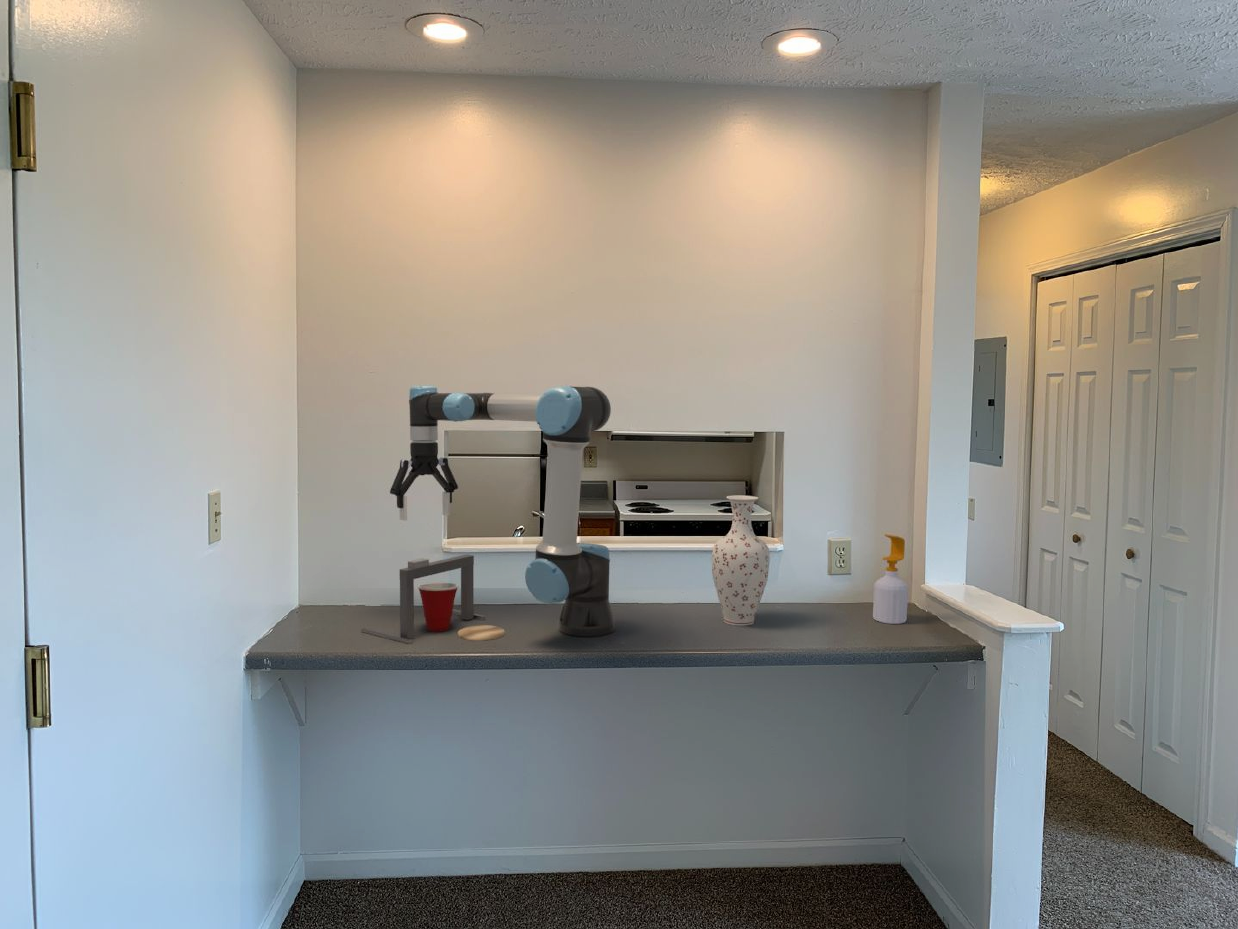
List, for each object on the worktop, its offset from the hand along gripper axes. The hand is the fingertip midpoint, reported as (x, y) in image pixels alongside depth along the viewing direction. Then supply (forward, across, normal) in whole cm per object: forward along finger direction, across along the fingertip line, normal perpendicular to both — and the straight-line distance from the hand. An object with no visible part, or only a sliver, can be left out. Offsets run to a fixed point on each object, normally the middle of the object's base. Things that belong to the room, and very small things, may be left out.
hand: (425, 517), depth 240 cm
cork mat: (+28, -1, +26) cm, 38 cm away
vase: (+29, -62, +62) cm, 92 cm away
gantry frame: (+28, +5, +14) cm, 32 cm away
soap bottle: (+29, -96, +90) cm, 134 cm away
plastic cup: (+28, +5, +14) cm, 32 cm away
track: (+28, +6, +10) cm, 30 cm away
